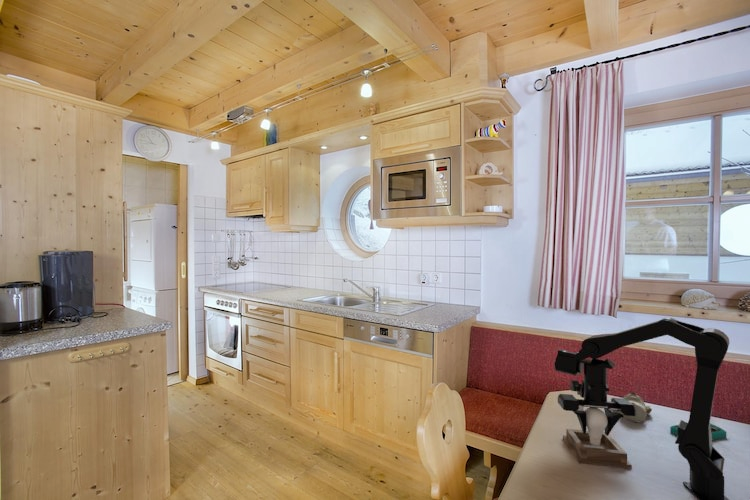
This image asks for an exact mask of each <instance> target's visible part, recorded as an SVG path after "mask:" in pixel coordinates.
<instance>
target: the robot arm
mask: <svg viewBox="0 0 750 500" xmlns="http://www.w3.org/2000/svg"><path fill="white" fill-rule="evenodd" d="M665 336H670V337H672V338H674V339H675V340H678V341H680V342H682V343H684V344H686V345H689V346H691V347H694V354H695V362H696V374H695V378H694V385H693V386H694V387H693V392H692V400H691V406H690V410H689V411H690V412H689V419H688V422H686V421H684V420H682V419H681V420H680V421H679V424H678V425H679V426H678V436H676V439H675V442H674V444H676V445H677V446H678V449H677V450H678V452H679V454H681V456H682V457H683V458H684V459H685V460H686V461H687V463H688V465H689V481H682V485H684V487H686V488H687V490H689V491H690V493H692V494H693V495H694V496H695V497H696V498H697V499H698V500H730V499H729V498H728V497H727V496H726V495H725V476H724V472H723V471H724V465H725V458H724V457H723V455H721V454H720V452H719V451H717V449H716V448H715V447H714V445H713V440H712V434H711V428H710V424H711V418H712V411H713V406H714V398H715V393H716V387H717V382H718V381H717V380H718V373H719V370H720V367H721V365H722V364H723V361H724V359H725V357H726V354H727V352H728V349H729V347H730V339H729V337H728V335H727V334H726V333H725V332H723V331H721V330H720V329H716V328H712V327H709V328H703V327H700V326H698V325H696V324H695V325H694V324H692V323H691V324H690V323H688V322H683V321H680V320H677V319H675V318H673V317H663V318H662V319H659V320H657V321H653V322H649V323H647V324H642V325H638V326H635V327H633V328H629V329H626V330H622V331H619V332H615V333H603V334H594V335H591V336H590V337H588V338H585V339H584V340H583V341H582V343H581V348H580V349H579V350H578V351H577V352H574V351H570V350H565V349H562V348H560V349H558V350H557V354H556V356H555V360H554V369H555V371H556V372H557V373H558V372H559V373H564V374H567V375H571V376H574V377H575V376H576V377H578V376H579V375H580V374H583V379H581V383H579V380H575V379H574V380H571V379H570V382H569V383H570V384H569V386H570V391H571V392H577V395H578V396H579V395H580V396H579V397H580V398H582V399H579V398H576V397H575V396H574V395H573V394H570V393H569V394H568V393H567V394H566V393H559V394H558V396H557V403H558V404H559V406H560V407H561V409H563V410H564V411H568V412H573V413H574V414H575V415H576V416H577V419H578V423H579V425H580V428H581V430H582V431H583V433H584V434H586V431H587V426H586V413H585V412H584V411H585V409H584V408H590V407H593V408H598V409H603V410H604V413H605V414H606V416H607V419H608V424H607V426H606V428H605V429H604V432H605V435H606V436H608V435H610V433H612V431H613V429H614V427H615V426H616V424H617V423H618V422H619V421H620V419H625V417H624V415H627V416H636V408H635V406H634V405H633V404H631V403H630V402H629V401H628V400H626V399H624V398H623V397H611V399H610V400H609V401H608V392H610V387H609V386H608V370H612V369H614V368H615V367H617V365H616V364H615V363H614V362H613V361H612V360H611V359H610V357H607V358H605V359H601V357H604V356H605V355H608V354H610V353H612V352H615V351H616V350H618V349H620V348H623V347H627V346H631V345H634V344H637V343H642V342H646V341H649V340H652V339H657V338H660V337H665ZM588 358H590V359H588ZM621 412H622V413H623V414H624V415H622V413H621Z"/></svg>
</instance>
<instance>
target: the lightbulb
mask: <svg viewBox="0 0 750 500" xmlns="http://www.w3.org/2000/svg"><path fill="white" fill-rule="evenodd" d="M584 412H585V413H586V429H587V431H589V436H590V443H591V444H592V445H593V446H595V447H597V446H600V441H601V438H602V432H604V431H605V428H606V426H607V424H608V419H607V416H606V414H605V411H603V410H602V409H601V408H593V407H586V409H584Z"/></svg>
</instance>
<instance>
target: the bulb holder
mask: <svg viewBox="0 0 750 500" xmlns="http://www.w3.org/2000/svg"><path fill="white" fill-rule="evenodd" d="M565 431H566V432H565V433H566V435H562V439H563V441H564V442H565V444H566V445H567V447H568V448H569V449H568V450H570V452H571V453H572V455H573V456H574V458H575V459H576V461H577V462H578V464H582V465H583V464H584V465H590V466H591V465H593V466H601V467H611V468H619V469H629V470H632V469H633V465H632V464H631V463H630V461H629V460H628V453H627V452H626V451H625V450H624V449H623V447H621V445H620V444H619V443H618V442H617V441H616V440H615V439H614V438H613V436H611V435H610V434H609V435H608V436H606V435H605V431H603V432H602V438H601V441H600V446H597V447H595V446H593V445H592V444H591V443H590V436H589V431H588V430H586V434H584V433H583V431H582V429H574V428H566V430H565Z"/></svg>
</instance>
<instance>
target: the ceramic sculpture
mask: <svg viewBox="0 0 750 500" xmlns="http://www.w3.org/2000/svg"><path fill="white" fill-rule="evenodd" d="M622 398H624V399H626V400H628V401H629V402H630V403H631V404H633V405H634V406H635V408H636V416H627V415H624V414H623V413H622V412H621V414H622V415H624V419H625V420H627V421H628V420H629V421H631V422H633V423H642V422H643V421H644V420H645V419H646V418H647V415H648V414H650V413H651V412H652V410H653V409H652V408H651V407H650V406H646V403H645V402H644V399H643V398H642V397H640V396H639V395H637V394H636V393H635V392H631V393H627V394H624V395H623V397H622Z"/></svg>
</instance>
